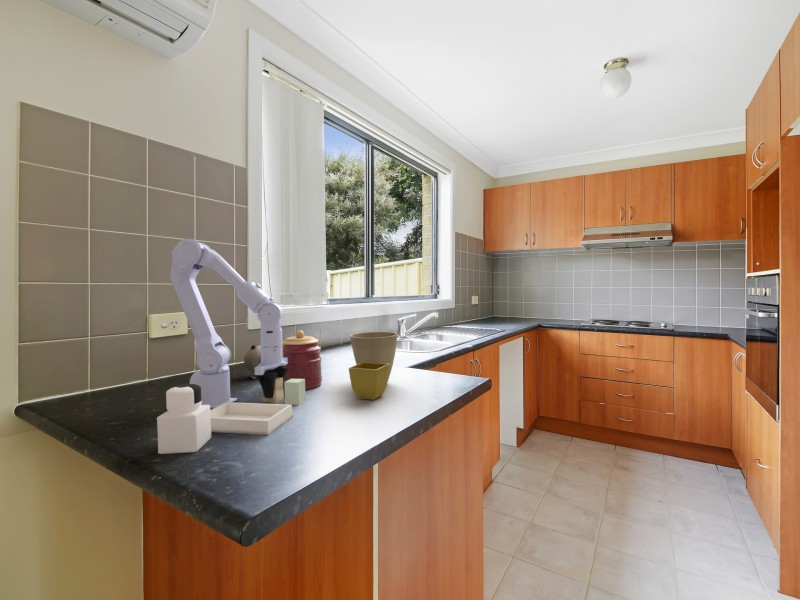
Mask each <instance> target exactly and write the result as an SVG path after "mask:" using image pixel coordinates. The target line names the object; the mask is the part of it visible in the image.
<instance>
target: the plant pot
mask: <svg viewBox="0 0 800 600" xmlns="http://www.w3.org/2000/svg"><path fill="white" fill-rule="evenodd" d="M349 337H350V343H351V348H352V353H353V357H354V361H355V365H357V364H360V363H362V362H368V363H387V364H389V374H388V382H389V380H390V376H391V372H392V369H393V365H394V361H395V356H396V350H397V344H398V343H397V342H398V333H397V332H393V331H365V332H357V333H352V334H350V335H349ZM388 382H387V384H388Z"/></svg>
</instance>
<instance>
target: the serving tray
mask: <svg viewBox="0 0 800 600" xmlns="http://www.w3.org/2000/svg"><path fill="white" fill-rule="evenodd" d="M210 415H211V433H225V434H226V433H227V434H244V435H245V434H246V435H260V436H261V435H263V436H264V435H265V436H269V435H271V434H272V433H273V432H275V431H276V430H278V428H280V427H282V425H284V424H286V423H287V422H288V421H289V420H291V418H293V405H286V404H285V403H283V404H282V403H280V404H279V403H257V402H255V403H254V402H253V403H252V402H235V401H234V402H226V403H224V404H222V405H220V406H218V407H216V408H211V409H210Z"/></svg>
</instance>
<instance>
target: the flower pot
mask: <svg viewBox="0 0 800 600" xmlns="http://www.w3.org/2000/svg"><path fill="white" fill-rule="evenodd" d="M348 372H349V373H348V374H349V378H350V386H351V388H352V390H353V393H354V394H355V396H356V397H357V398H358V399H360V400H362V399H363V400H372V401H375V400H377V399H378V398H379V397H381V396H382V395H384V392H385V391H386V388H387V386H388V383H387V382H389V380H388V374H389V364H387V363H368V362H362V363H360V364H357V365H356V364H355V365H352V366H350V367H348Z"/></svg>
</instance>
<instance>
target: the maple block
mask: <svg viewBox="0 0 800 600" xmlns="http://www.w3.org/2000/svg"><path fill="white" fill-rule="evenodd" d="M261 393H262V403H267V404H278V403H279V402H280V401H282V400H284V389H283V377H276V380H275V384H274V395H273V398H265V396H264V393H263V390H262V392H261Z"/></svg>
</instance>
